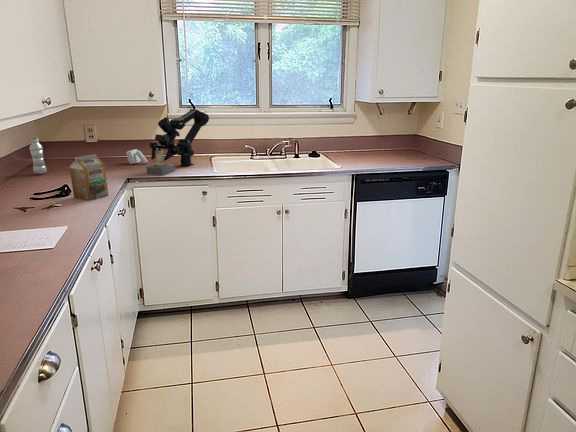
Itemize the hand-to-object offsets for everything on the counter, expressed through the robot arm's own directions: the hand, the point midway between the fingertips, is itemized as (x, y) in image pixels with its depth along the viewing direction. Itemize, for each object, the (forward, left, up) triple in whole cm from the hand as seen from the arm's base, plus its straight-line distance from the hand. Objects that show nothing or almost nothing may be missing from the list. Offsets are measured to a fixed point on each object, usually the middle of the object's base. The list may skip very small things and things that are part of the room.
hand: (158, 159), depth 254 cm
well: (-1, 0, -8) cm, 8 cm away
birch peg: (-1, 0, -8) cm, 8 cm away
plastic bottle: (+30, -59, -8) cm, 66 cm away
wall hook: (-16, -29, -8) cm, 34 cm away
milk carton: (+54, +4, -8) cm, 54 cm away
